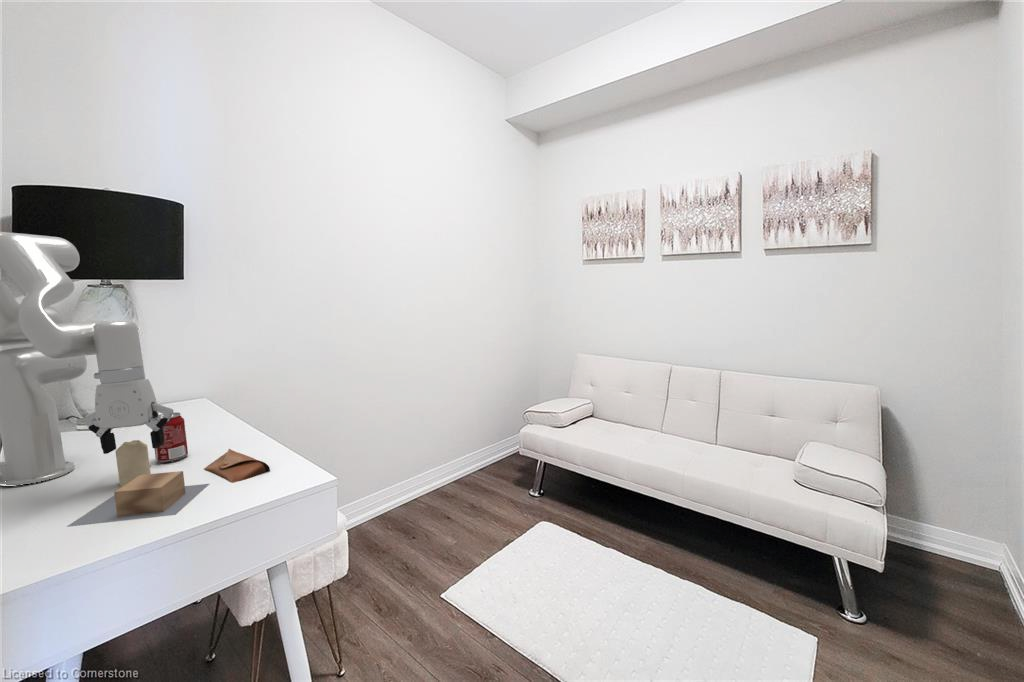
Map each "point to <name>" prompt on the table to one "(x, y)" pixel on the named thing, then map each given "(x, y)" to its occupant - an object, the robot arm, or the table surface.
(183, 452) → the soda can
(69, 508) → the table surface
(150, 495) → the block
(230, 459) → the sunglasses case
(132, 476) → the candle
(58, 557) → the table surface
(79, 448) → the table surface
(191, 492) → the mat
